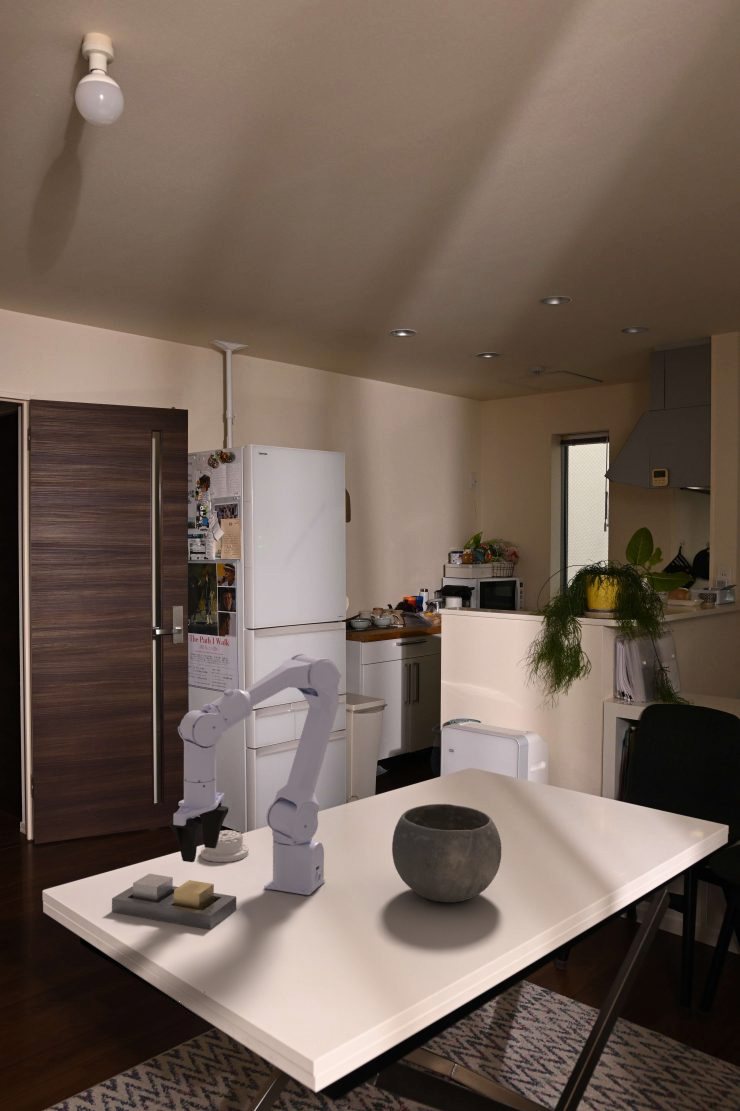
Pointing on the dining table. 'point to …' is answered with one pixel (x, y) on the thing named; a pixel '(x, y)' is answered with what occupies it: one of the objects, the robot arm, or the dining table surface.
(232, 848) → the mechanical component
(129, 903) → the grey tray
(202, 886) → the brushed gold cube
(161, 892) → the silver gray cube
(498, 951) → the dining table surface
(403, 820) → the bowl
